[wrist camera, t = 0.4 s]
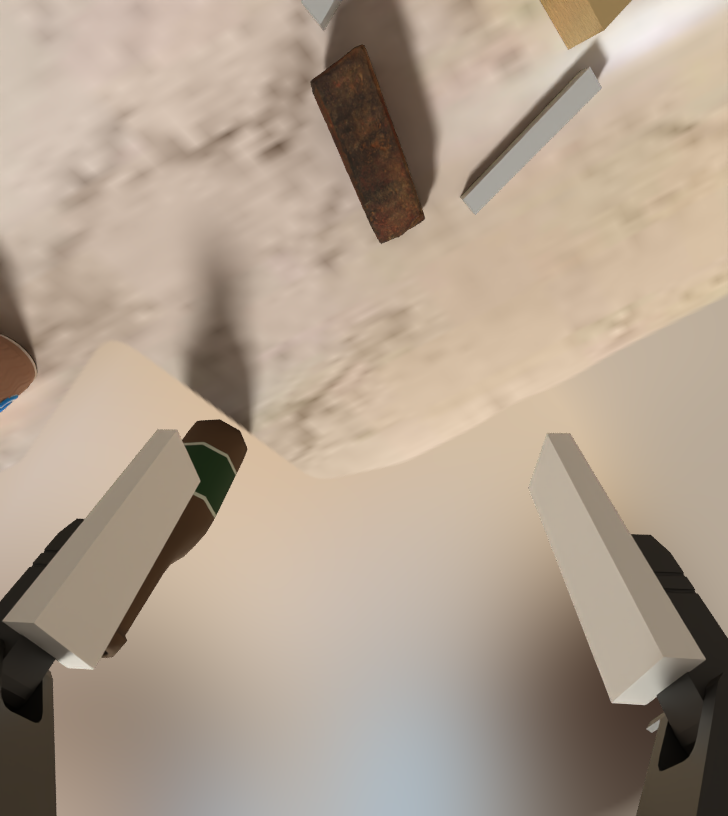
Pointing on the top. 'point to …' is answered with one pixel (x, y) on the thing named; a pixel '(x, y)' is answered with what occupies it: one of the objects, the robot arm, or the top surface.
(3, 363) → the coffee cup
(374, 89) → the brick
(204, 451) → the beer bottle
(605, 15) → the red dome button
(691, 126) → the top surface
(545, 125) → the rails
